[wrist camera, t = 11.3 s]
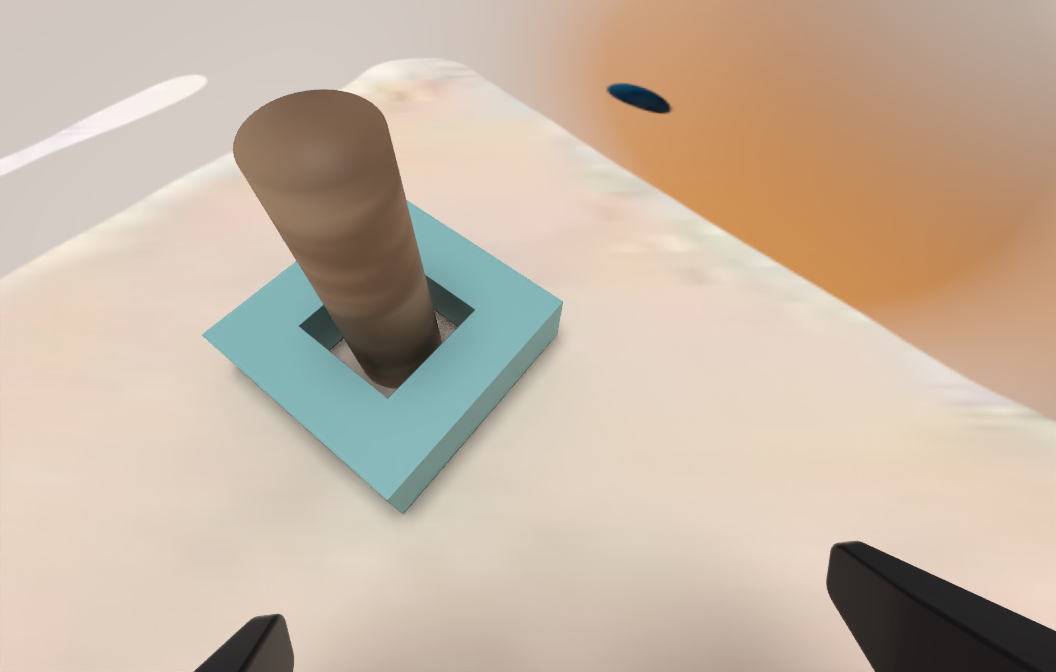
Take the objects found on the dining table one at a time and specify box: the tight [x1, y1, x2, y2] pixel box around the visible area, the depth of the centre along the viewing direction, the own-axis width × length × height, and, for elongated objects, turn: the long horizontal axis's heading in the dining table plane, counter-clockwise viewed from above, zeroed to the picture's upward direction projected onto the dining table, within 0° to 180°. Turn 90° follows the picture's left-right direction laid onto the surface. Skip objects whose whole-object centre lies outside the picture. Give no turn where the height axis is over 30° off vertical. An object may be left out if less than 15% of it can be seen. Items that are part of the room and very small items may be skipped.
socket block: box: [202, 200, 563, 514], centre depth 23 cm, size 11×11×3 cm
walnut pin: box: [233, 90, 442, 388], centre depth 19 cm, size 4×4×12 cm
